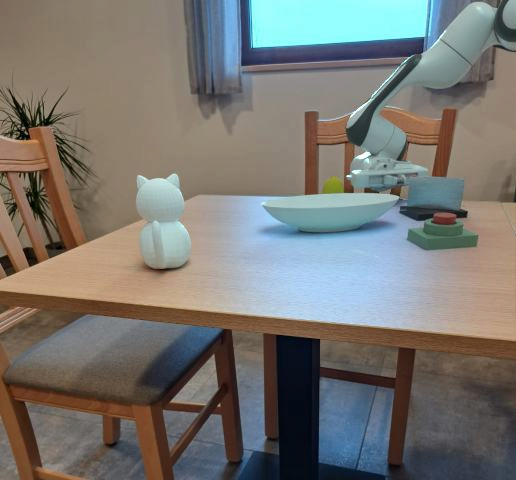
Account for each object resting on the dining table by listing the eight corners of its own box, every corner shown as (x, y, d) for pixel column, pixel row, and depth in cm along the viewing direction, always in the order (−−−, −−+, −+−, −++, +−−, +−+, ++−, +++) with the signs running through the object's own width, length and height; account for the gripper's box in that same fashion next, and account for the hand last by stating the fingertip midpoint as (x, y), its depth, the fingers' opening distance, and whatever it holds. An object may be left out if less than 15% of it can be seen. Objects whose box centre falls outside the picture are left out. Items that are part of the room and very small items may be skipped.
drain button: (448, 221, 89) (449, 212, 88) (459, 226, 85) (460, 216, 85) (428, 222, 88) (429, 213, 88) (438, 227, 85) (440, 217, 84)
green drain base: (454, 236, 93) (457, 215, 91) (476, 246, 86) (480, 225, 84) (406, 239, 92) (409, 219, 90) (425, 250, 85) (428, 228, 83)
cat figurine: (193, 254, 87) (185, 170, 80) (191, 275, 76) (182, 180, 69) (145, 256, 87) (132, 172, 80) (136, 278, 76) (121, 183, 69)
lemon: (322, 206, 124) (323, 174, 120) (343, 206, 123) (345, 174, 119) (320, 210, 119) (322, 177, 115) (342, 210, 118) (344, 177, 114)
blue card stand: (460, 209, 107) (465, 176, 104) (459, 211, 106) (464, 177, 103) (408, 205, 113) (411, 174, 109) (406, 207, 112) (410, 175, 108)
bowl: (267, 241, 93) (266, 211, 91) (257, 225, 107) (256, 197, 104) (409, 232, 96) (412, 202, 94) (382, 217, 110) (385, 190, 107)
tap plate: (446, 206, 118) (447, 199, 117) (483, 220, 104) (484, 212, 103) (386, 210, 116) (386, 203, 115) (415, 224, 102) (416, 217, 101)
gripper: (344, 164, 126) (362, 170, 114) (415, 160, 128) (440, 165, 116) (343, 188, 129) (360, 197, 117) (412, 184, 131) (436, 191, 119)
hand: (400, 181), depth 116 cm, fingers closed
